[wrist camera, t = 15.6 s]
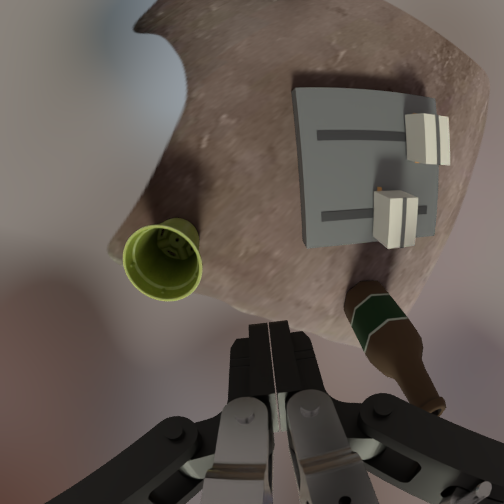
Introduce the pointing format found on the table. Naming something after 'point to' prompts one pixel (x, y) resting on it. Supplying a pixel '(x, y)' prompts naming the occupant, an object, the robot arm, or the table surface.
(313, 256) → the table surface
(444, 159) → the block
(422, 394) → the beer bottle
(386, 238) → the block
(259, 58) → the table surface
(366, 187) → the fader board
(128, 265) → the plant pot
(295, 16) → the table surface
